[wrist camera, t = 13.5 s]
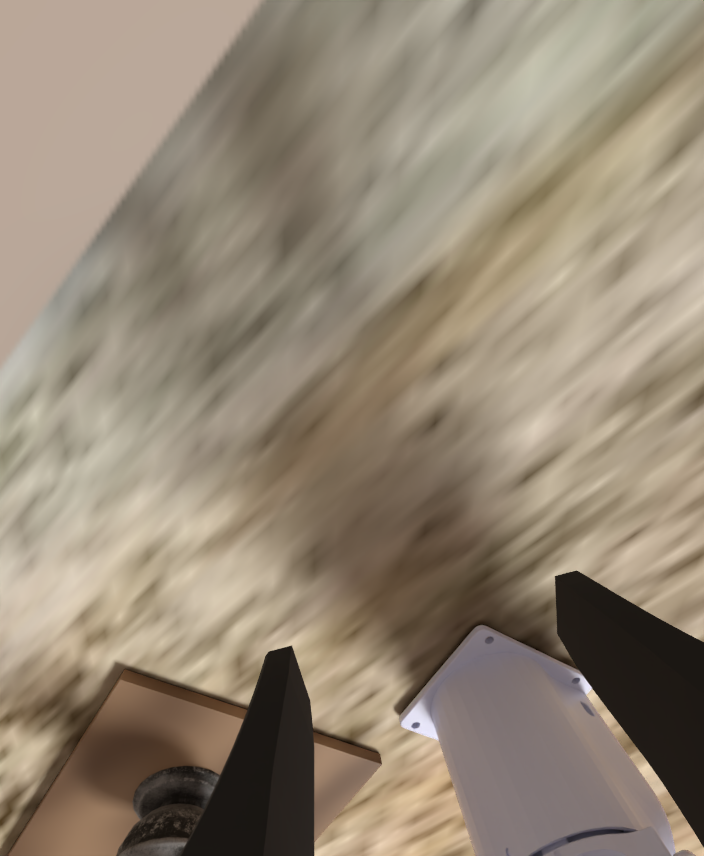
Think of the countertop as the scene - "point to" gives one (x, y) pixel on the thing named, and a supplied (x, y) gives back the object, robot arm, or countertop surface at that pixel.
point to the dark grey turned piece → (168, 810)
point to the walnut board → (161, 766)
